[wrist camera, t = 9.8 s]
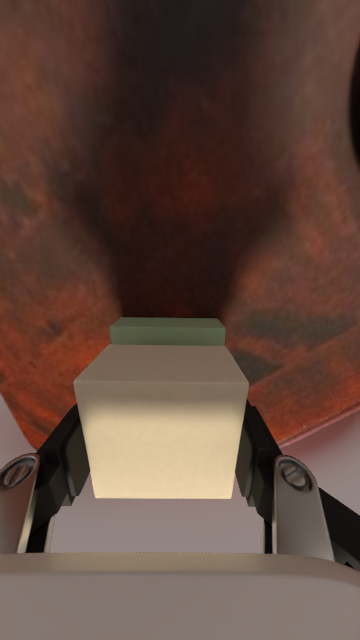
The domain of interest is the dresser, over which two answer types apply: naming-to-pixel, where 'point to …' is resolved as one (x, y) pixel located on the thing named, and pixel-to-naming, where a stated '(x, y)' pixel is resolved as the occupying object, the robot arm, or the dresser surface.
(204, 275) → the dresser surface
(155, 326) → the base pad
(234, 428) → the cream pad
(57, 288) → the dresser surface
